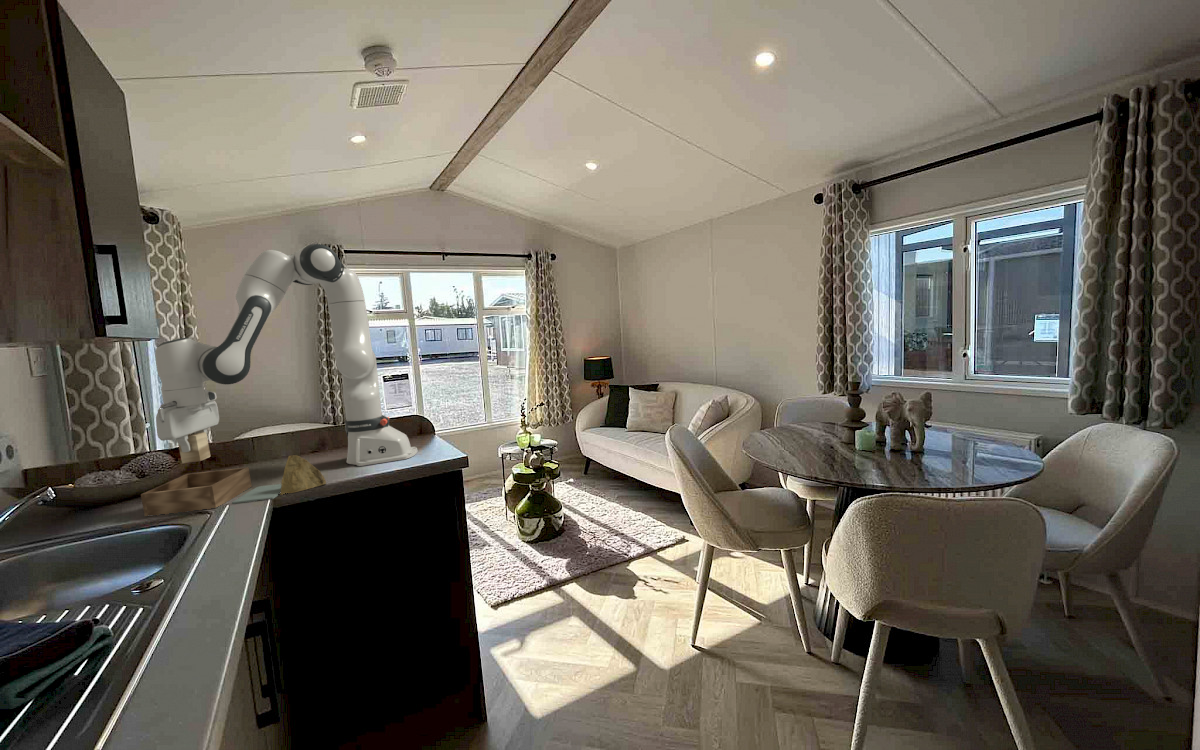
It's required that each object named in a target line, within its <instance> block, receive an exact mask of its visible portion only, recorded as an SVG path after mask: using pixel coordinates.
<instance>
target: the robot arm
mask: <svg viewBox="0 0 1200 750" xmlns="http://www.w3.org/2000/svg"><path fill="white" fill-rule="evenodd" d="M293 283H295V284H298V285H299V284H300V285H305V286H312V285H315V284H319V285H320V286H321V287H322V288H323V290H324V292H325V295H326V302H327V307H328V308H327V309H328V312H329V314H328V315H329V318H330V324H331V325H330V326H331V330H332V343H333V350H334V358H335V365H336V369H337V370H338V372H339V373H340V374H341V378H342V379H341V380H342V398H343V405H344V413H345V421H344V424H345V425H344V427H345V433H346V437H347V455H346V457H347V458H346V463H347V464H349V465H356V466H357V467H363V466H368V465H369V466H370V465H375V464H376V465H377V464H382V463H387V462H388V463H389V462H394V461H396V462H397V461H402V460H406V459H410V458H412V457H414V456H415V455H416V454H417V453H418V451H419V450H418V448H417V446H411V443H410V439H409V437H408V435H407V434H405V433H404V432H402V431H400V430H399V429H396V428H394V427H393V426H392V425H390V416H385V415H383V413H382V412H383V411H382V406H381V397H380V396H381V395H380V388H379V387H380V385H379V375H378V365H377V356H376V354H375V352H374V350H373V347H372V341H371V332H370V323H369V318H368V317H369V316H368V312H367V305H366V301H365V295H364V291H363V287H362V284H361V282H360V279H359V276H358V275H357V273H356V271H353V270H351V269H349V268H346V267H344V264H343V263H342V261H341V260H340V259H339V257H338V255H337V253H336V252H335V251H334V250H333V249H332V248H331V247H329V246H328V245H325V244H321V243H311V244H309V245H306V246H304V247H301V248H300V249H298V250H296V252H293V253H292V254H291V255H289V254H286V253H283V251H280V250H275V249H266V250H263V252H261V253H260V254H259V255H258V257H256V259H254V261H253V262H252V263H251V265H250V266H249V268H247V270H246V271H245V273H244V275H243V277H242V279H241V280H240V283H239V284H238V287H237V291H236V294H235V300H236V303H237V304H238V305H237V306H238V313H237V317H236V319H235V320H234V323H233V324H232V326H231V327H230V330H229V331H228V333H227V335H226V337H225V339H224V340H223V342H222V343H221V344H220V345H218V346H215V345H214V346H213V345H211V344H210V345H209V344H205V343H202V342H200V341H196V340H195V339H192V338H191V337H180V338H177V339H172V340H168V341H164V342H162V343H160V344H158V345H157V347H156V349H155V354H154V355H155V364H156V365H155V366H156V371H157V375H158V377H159V378H160V379H159V380H161V389H160V390H161V396H162V401H163V403H162V404H160V407H159V408H158V410H157V413H156V415H155V416H156V417H155V423H156V424H155V426H156V427H155V428H156V435H157V438H158V439H159V440H160V441H162V442H163V441H171V440H175V441H176V442H177V445H178V444H179V445H180V446H181V449H182V452H189V451H191V450H192V449H193V448H192V444H189V442H188V440H187V439H188V434H194V433H203V432H206V434H207V435H208V428H211V427H214V426H217V425H219V423H220V414H219V413H220V412H219V407H218V403H217V402H216V400H217V398H218V397H217V393H216V391H211V390H209V389H205V386H204V383H205V382H208V381H210V382H214V383H217V384H219V385H234V384H236V383H237V384H238V383H239V382H241V381H242V380H244V379H245V378H246V377H247V375H248V374H249V372H250V371H251V369H250V368H251V354H252V350H253V347H254V345H255V344H256V342H257V340H258V338H259V335H260V333H261V331H262V330H263V328H264V325H265V323H266V322H267V321H268V319H269V318H270V317H271V315H272V314H273V312H275V310H276V309H277V308H278V306H279V305H280V303H281V302H282V300H283V299H284V297H285V296H286V293H287V291H288V290H289V287H290V286H291V284H293ZM179 445H178V446H179Z"/></svg>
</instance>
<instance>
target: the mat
mask: <svg viewBox="0 0 1200 750" xmlns="http://www.w3.org/2000/svg"><path fill="white" fill-rule="evenodd" d="M280 492H281V483H278V484H268V485H260V486H259V485H258V486H256V487H254V488H253V489H251V490H249V491H248V492H246V493H244V494H243V495H241V496H240V497H238V498H237V499H235V500H233V501H231V505H236V504H243V503H244V502H245V503H251V502H252V501H253V502H258V501H257V500H262V501H265V500H264V499H270V500H274V499H275V498H277V497H278V496H279V495H280V494H279V493H280ZM278 494H279V495H278Z"/></svg>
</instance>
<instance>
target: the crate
mask: <svg viewBox="0 0 1200 750" xmlns="http://www.w3.org/2000/svg"><path fill="white" fill-rule="evenodd" d="M250 487H251V488H253V486H252V479H251V475H250V468H249V466H247V467H239V468H238V467H237V468H228V469H221V470H220V469H219V470H211V471H204V472H203V471H202V472H193V473H186V474H183V475H180V476H179V477H177V478H174V479H172V480H169V481H167V482H165V483H163V484H161V485H158V486H156V487H154V488H152V489H150V490H147V491H145V492H143V493H141V494H140V498H141V499H140V500H141V503H142V509H143V513H144V514H143V515H144V517H145V516H148V515H157V516H160V515H159V514H165V515H170V514H169V513H174V514H179V513H178V512H182V513H188V512H187V511H190V512H194V511H193V510H199V511H203V510H202V509H207V510H212V509H211V508H215V509H217V508H216V507H218V506H219V507H221V506H223V505H225V503H227V501H228V502H229V501H231V500H233V499H234V498H236V497H238V496H239V495H241V494H243V493H244V492H245V490H246V491H247V490H249V489H251V488H250ZM248 488H249V489H248ZM243 491H244V492H243ZM240 493H241V494H240ZM237 495H238V496H237ZM232 498H233V499H232ZM222 504H223V505H222ZM220 505H221V506H220ZM219 507H218V508H219Z"/></svg>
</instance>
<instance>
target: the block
mask: <svg viewBox="0 0 1200 750" xmlns="http://www.w3.org/2000/svg"><path fill="white" fill-rule="evenodd" d="M187 440H188V442H189V444H192V448H193V449H192V450H191V451H189V452H182V449H181V446H180V445H179V444H178V443H177V445H178V450H179V455H180V459H181V463H182V464H186V463H187V464H188V463H194V462H195V463H196V462H201V461H204V460H206V459H209V458H210V457H211V451H210V445H209V440H208V433H207V434H206V432H203V433H196V432H194V433H191V434H188V439H187Z"/></svg>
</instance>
